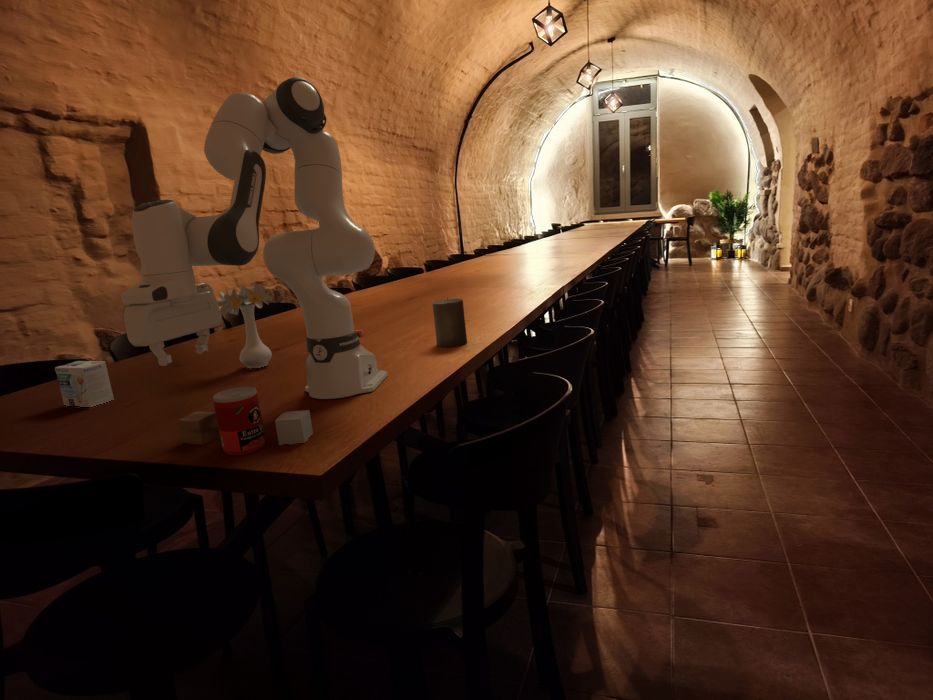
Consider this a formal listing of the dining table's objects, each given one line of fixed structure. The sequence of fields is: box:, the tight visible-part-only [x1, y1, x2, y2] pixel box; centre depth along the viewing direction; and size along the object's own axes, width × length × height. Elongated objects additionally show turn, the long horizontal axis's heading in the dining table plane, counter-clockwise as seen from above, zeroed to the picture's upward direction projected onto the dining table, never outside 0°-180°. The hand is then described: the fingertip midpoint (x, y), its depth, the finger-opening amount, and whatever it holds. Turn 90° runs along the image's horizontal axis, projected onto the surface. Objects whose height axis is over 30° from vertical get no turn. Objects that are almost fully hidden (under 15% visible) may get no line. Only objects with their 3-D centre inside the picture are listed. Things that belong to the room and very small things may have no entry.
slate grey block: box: [274, 409, 314, 446], centre depth 112 cm, size 5×5×5 cm
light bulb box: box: [54, 360, 115, 408], centre depth 151 cm, size 11×7×11 cm, turn 68°
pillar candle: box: [432, 296, 468, 348], centre depth 182 cm, size 10×10×15 cm
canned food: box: [212, 386, 266, 456], centre depth 109 cm, size 8×8×11 cm
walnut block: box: [177, 411, 220, 445], centre depth 117 cm, size 5×5×5 cm
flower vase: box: [216, 283, 273, 370], centre depth 173 cm, size 13×18×25 cm
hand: (184, 358), depth 113 cm, fingers open, 8 cm apart
